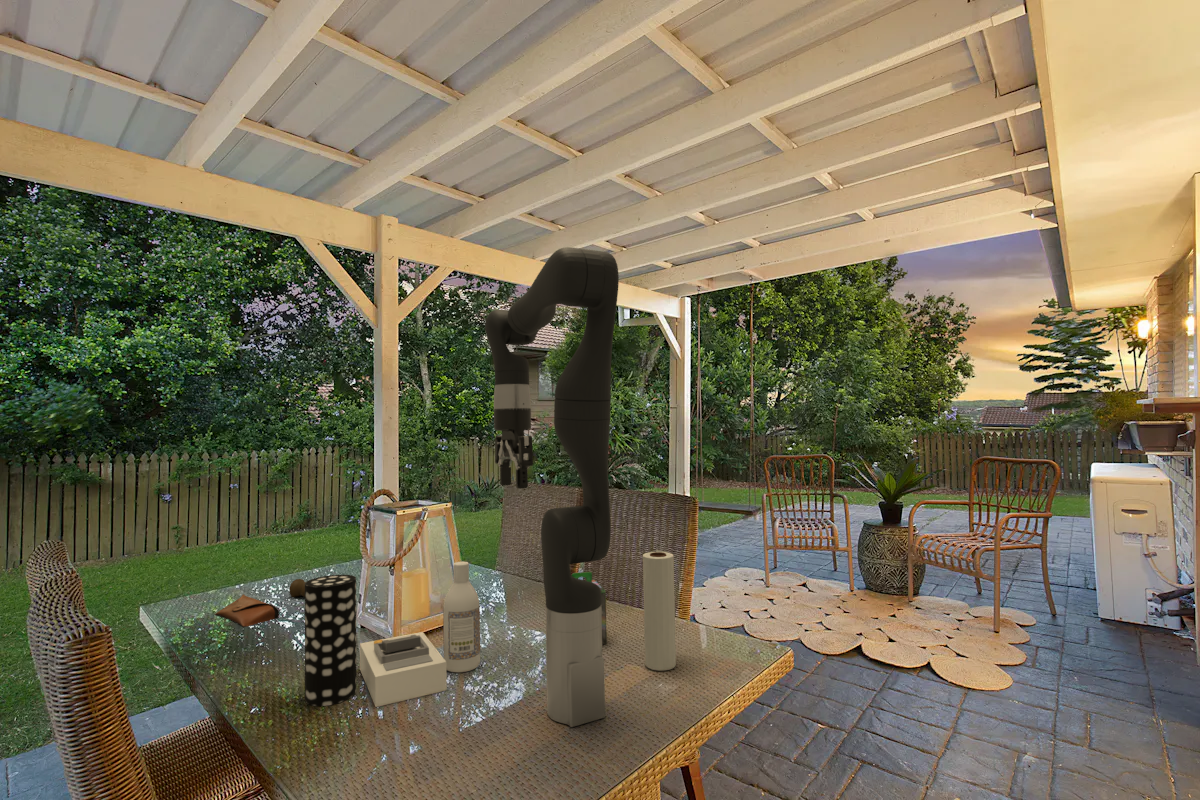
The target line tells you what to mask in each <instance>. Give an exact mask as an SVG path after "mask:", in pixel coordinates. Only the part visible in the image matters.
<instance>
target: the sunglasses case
mask: <svg viewBox="0 0 1200 800" xmlns="http://www.w3.org/2000/svg"><path fill="white" fill-rule="evenodd" d="M214 615H215V616H218V617H222V618H224V619H227V620H229V621H232V622H233V623H236V624H238V625H240V626H241V627H245V628H247V627H250V626H252V625H257V624H260V623H264V622H265V623H266V622H269V621H272V620H277V619H279V617H280V611H279V609H278V608H277V607H276V606H275V605H273V604H271V603H266V602H264V601H261V600H259V599H257V598H256V599H255V598H253V597H250V596H247V595H245V594H243V593H242V594H241V597H239V598H237V599H236V600H234V601H233V602H231V603H229V604H228V605H226V606H225V607H223V608H222V609H220V610H219V611H217V612H215V613H214Z"/></svg>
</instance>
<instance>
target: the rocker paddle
mask: <svg viewBox="0 0 1200 800" xmlns="http://www.w3.org/2000/svg"><path fill="white" fill-rule="evenodd" d="M419 646H421V640H420V637H419V636H416V635H411V636H405V637H400V638H394V639H389V640H384V641H382V650H383V651H385V652H386V653H389V652H394V651H399V650H404V649H409V648H414V647H419Z"/></svg>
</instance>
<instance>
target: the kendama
mask: <svg viewBox="0 0 1200 800" xmlns="http://www.w3.org/2000/svg"><path fill="white" fill-rule="evenodd" d="M305 582H306V581H305V580H304V579H302V578H297V579H294V580H293V581H292V582H291V583H290V586H289V589H288V590H289V595H290V597H291V598H299V597H304V598H305Z"/></svg>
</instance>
